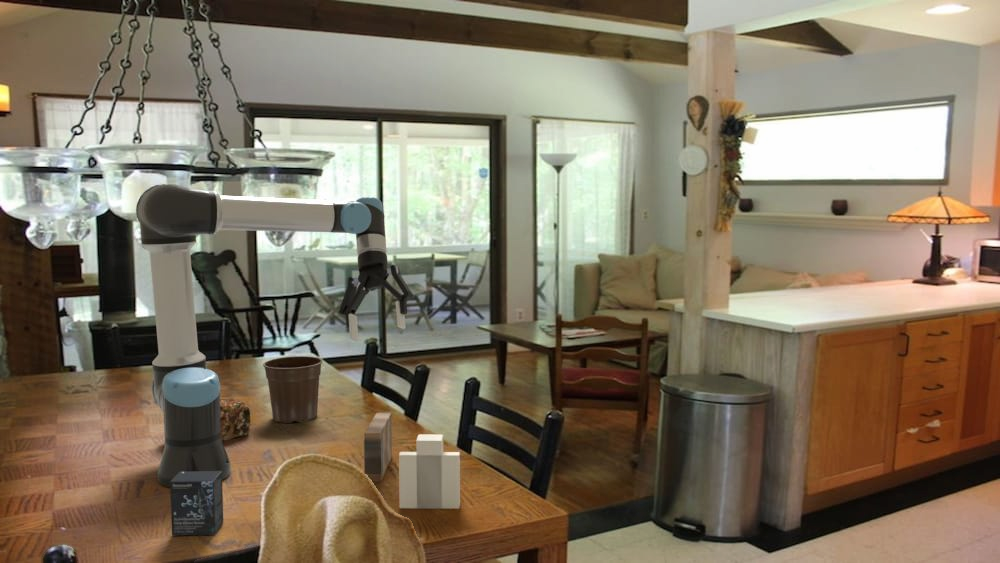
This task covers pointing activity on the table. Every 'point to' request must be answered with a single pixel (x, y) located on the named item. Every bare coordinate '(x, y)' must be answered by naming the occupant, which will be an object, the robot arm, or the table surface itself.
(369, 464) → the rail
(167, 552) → the table surface
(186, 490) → the box
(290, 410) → the plant pot
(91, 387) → the table surface
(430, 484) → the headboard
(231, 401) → the bread
